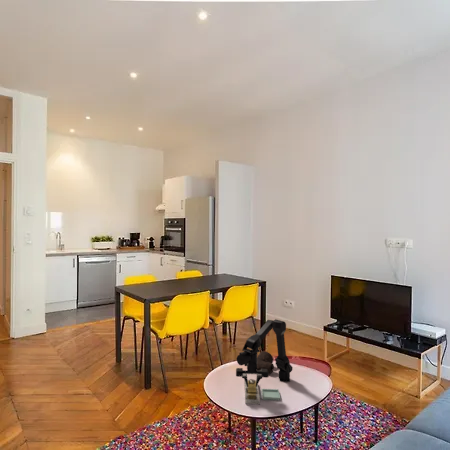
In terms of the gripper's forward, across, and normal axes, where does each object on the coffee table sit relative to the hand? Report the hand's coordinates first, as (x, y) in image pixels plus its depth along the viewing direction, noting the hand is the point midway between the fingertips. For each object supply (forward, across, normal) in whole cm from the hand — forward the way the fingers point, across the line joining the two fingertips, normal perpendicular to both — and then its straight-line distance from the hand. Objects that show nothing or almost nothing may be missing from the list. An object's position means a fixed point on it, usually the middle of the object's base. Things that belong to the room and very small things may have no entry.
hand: (251, 387), depth 208 cm
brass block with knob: (+3, 0, 0) cm, 3 cm away
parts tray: (+5, -11, 0) cm, 12 cm away
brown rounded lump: (+5, -10, -38) cm, 39 cm away
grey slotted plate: (+5, 0, -2) cm, 5 cm away
